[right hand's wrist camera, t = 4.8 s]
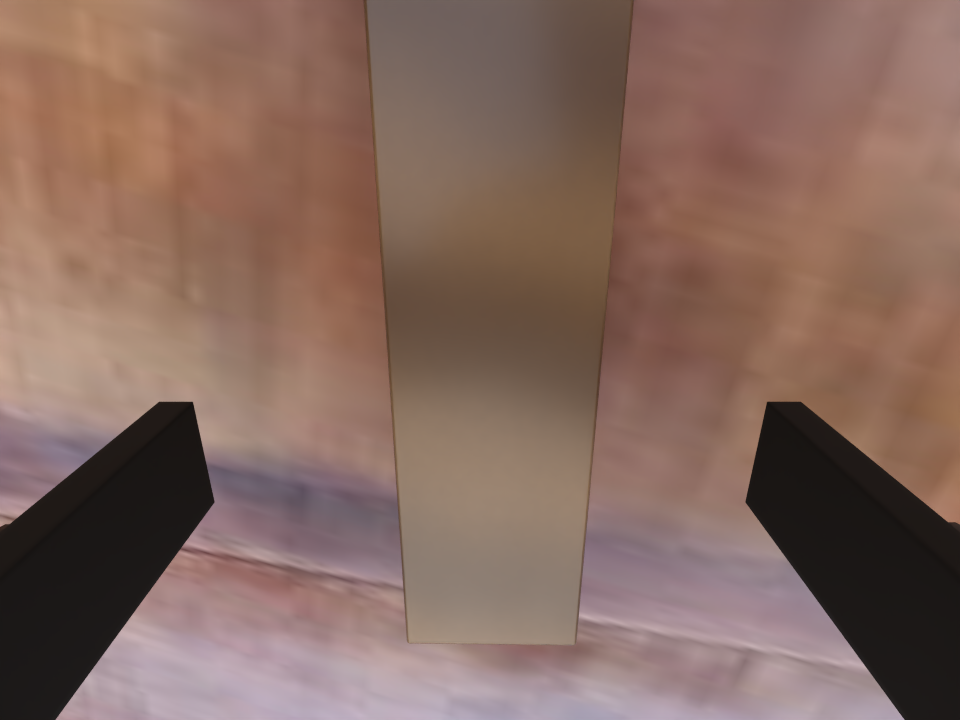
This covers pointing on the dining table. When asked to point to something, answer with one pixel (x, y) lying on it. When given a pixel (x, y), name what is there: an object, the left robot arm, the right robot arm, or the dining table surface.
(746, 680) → the dining table surface
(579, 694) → the dining table surface
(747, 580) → the dining table surface
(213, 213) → the dining table surface
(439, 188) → the beam
